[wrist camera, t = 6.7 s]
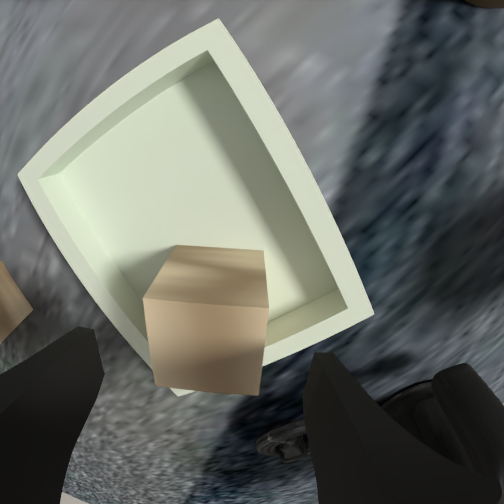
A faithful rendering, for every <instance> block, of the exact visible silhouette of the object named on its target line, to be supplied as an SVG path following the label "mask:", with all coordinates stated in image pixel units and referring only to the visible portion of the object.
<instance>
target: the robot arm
mask: <svg viewBox="0 0 504 504" xmlns="http://www.w3.org/2000/svg"><path fill="white" fill-rule="evenodd" d="M103 377H104V370H103V367H102V363H101V359H100V355H99V351H98V346H97V342H96V338H95V333H94V330H93V329H88V328H83V327H77V328H75V329H73V330H72V331H70V332H68V333H67V334H65V335H64V336H62V337H61V338H59V339H58V340H56V341H54V342H53V343H51V344H50V345H48V346H47V347H45V348H44V349H42V350H41V351H39V352H38V353H36V354H35V355H33V356H31V357H30V358H28V359H26V360H25V361H23V362H21V363H20V364H18V365H16V366H15V367H13V368H11V369H10V370H8V371H6V372H4V373H2V374H0V504H60V498H61V493H62V489H63V484H64V479H65V475H66V471H67V468H68V464H69V461H70V457H71V454H72V451H73V449H74V446H75V444H76V442H77V439H78V437H79V435H80V433H81V431H82V429H83V426H84V424H85V422H86V420H87V418H88V416H89V414H90V411H91V409H92V407H93V405H94V403H95V401H96V399H97V396H98V393H99V390H100V387H101V384H102V380H103ZM302 398H303V412H304V422H305V428H306V432H307V437H308V442H309V447H310V451H311V456H312V461H313V465H314V470H315V475H316V481H317V488H318V501H319V504H504V491H503V488H502V486H501V484H500V482H499V481H497V480H494V479H491V478H489V477H486V476H483V475H480V474H478V473H475V472H473V471H470V470H468V469H466V468H464V467H462V466H460V465H458V464H456V463H454V462H452V461H450V460H449V459H447V458H445V457H443V456H442V455H440V454H438V453H437V452H435V451H434V450H432V449H431V448H429V447H428V446H426V445H425V444H423V443H422V442H420V441H419V440H418V439H416V438H415V437H414V436H412V435H411V434H410V433H409V432H407V431H406V430H405V429H404V428H403V427H401V426H400V425H399V424H398V423H397V422H396V421H394V420H393V419H392V418H391V417H390V416H389V415H388V414H387V413H386V412H385V411H384V410H383V409H382V408H381V407H380V406H379V405H378V404H377V403H376V402H375V401H374V400H373V399H372V398H371V397H370V396H369V394H368V393H367V392H366V391H365V390H364V389H363V388H362V387H361V386H360V384H359V383H358V382H357V381H356V380H355V379H354V377H353V376H352V375H351V374H350V373H349V371H348V370H347V369H346V368H345V367H344V365H343V364H342V363H341V362H340V361H339V359H338V358H337V357H336V356H335V355H334V353H317V352H315V353H314V357H313V360H312V364H311V367H310V371H309V374H308V378H307V381H306V385H305V388H304V391H303V395H302Z"/></svg>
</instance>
